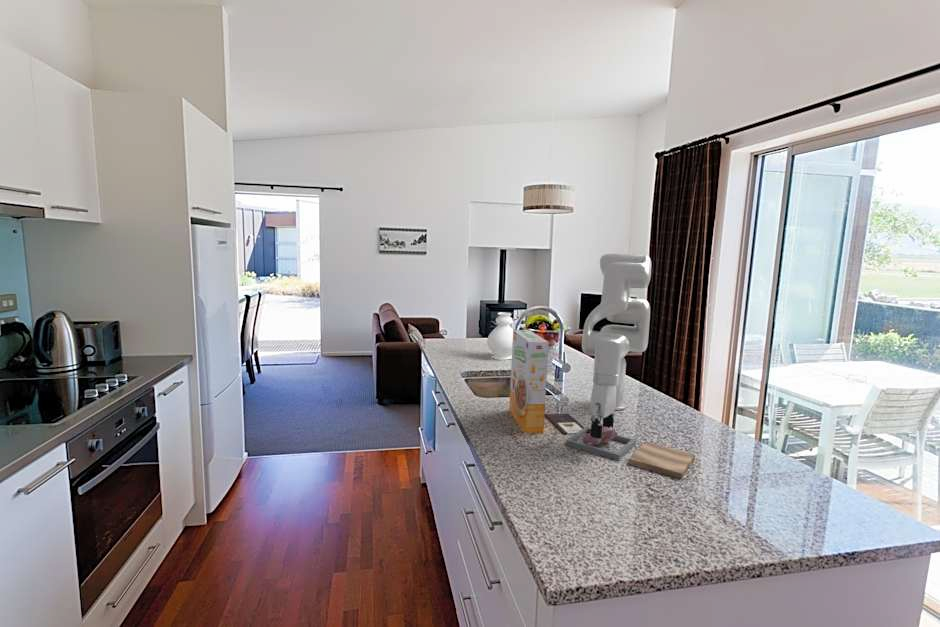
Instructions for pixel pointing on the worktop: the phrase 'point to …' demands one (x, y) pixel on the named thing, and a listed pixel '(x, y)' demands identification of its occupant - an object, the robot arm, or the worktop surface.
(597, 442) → the video game controller
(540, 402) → the cereal box
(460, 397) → the worktop surface
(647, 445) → the walnut board
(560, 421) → the chocolate bar
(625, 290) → the robot arm
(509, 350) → the decorative vase
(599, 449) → the frame
